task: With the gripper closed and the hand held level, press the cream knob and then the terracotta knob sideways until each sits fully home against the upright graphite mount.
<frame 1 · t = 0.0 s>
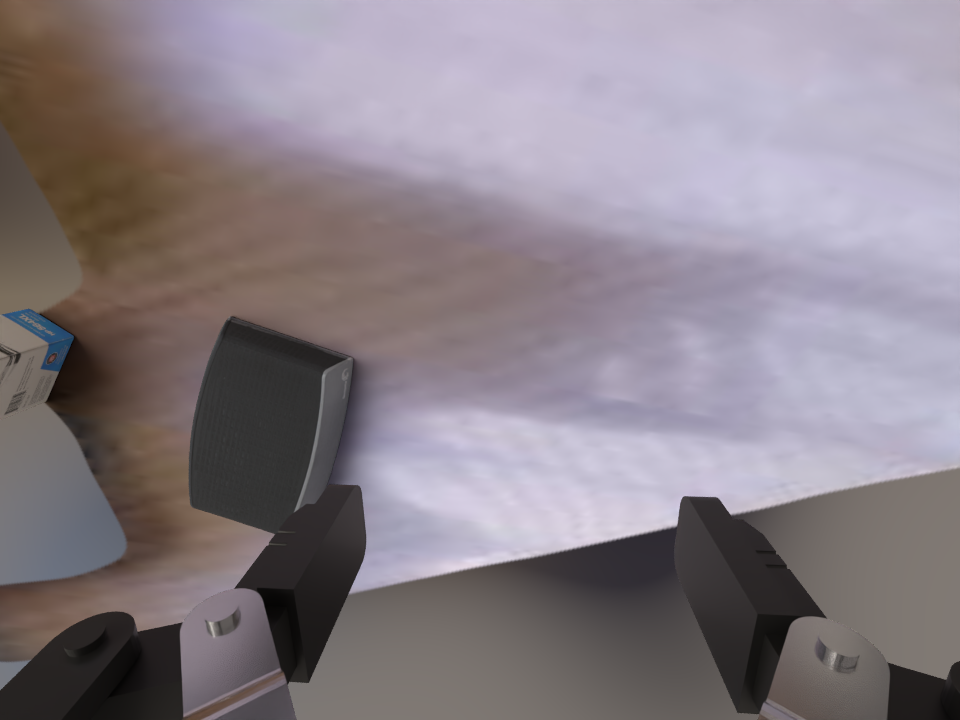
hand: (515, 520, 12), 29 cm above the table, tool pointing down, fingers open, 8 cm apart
ink box: (41, 356, 45), on the table
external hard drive: (276, 425, 46), on the table
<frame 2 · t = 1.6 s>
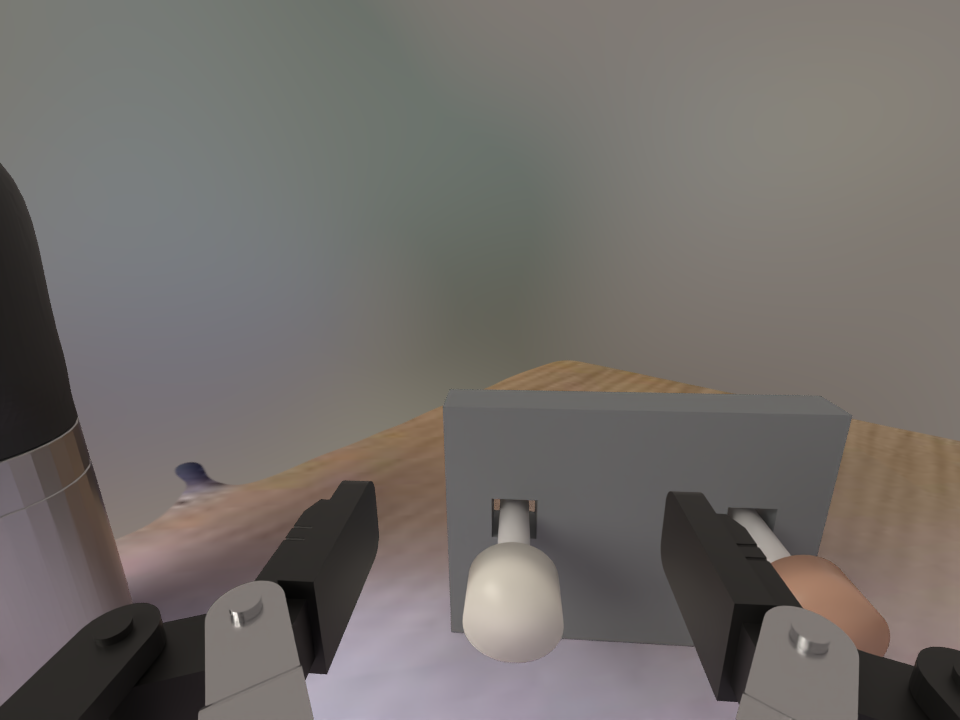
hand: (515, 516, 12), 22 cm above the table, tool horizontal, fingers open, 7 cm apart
cream knob: (513, 552, 28), point 10 cm above the table, slide at 5.0 cm
knob mount: (613, 624, 35), on the table
terracotta knob: (775, 564, 27), point 10 cm above the table, slide at 5.0 cm
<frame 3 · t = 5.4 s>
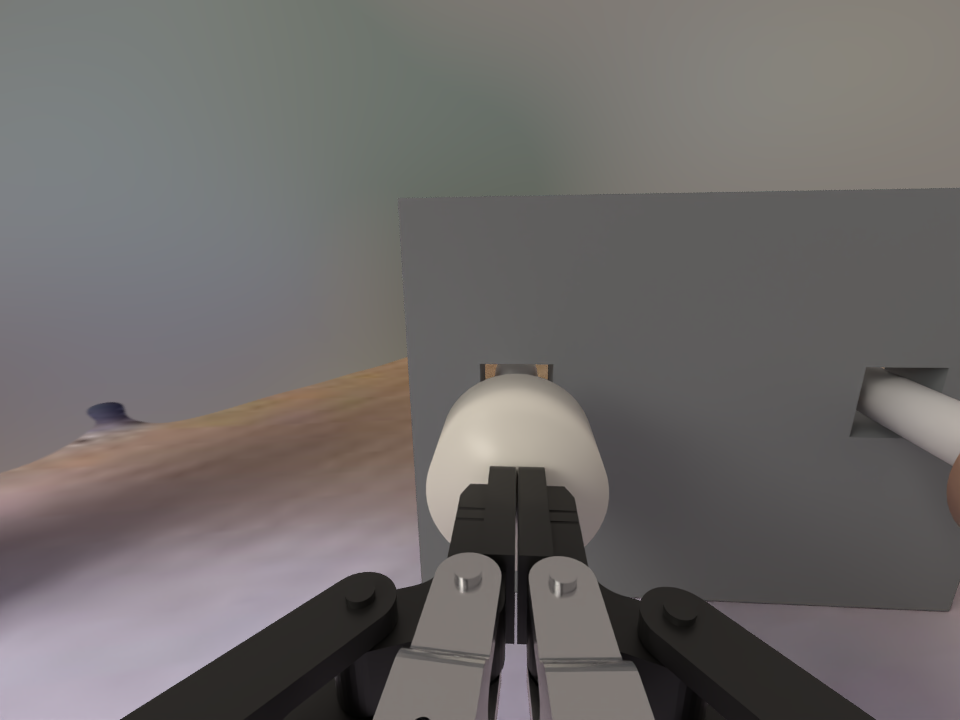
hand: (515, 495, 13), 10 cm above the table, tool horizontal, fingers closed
cream knob: (516, 417, 18), point 10 cm above the table, slide at 3.7 cm, touching gripper
knob mount: (665, 575, 24), on the table
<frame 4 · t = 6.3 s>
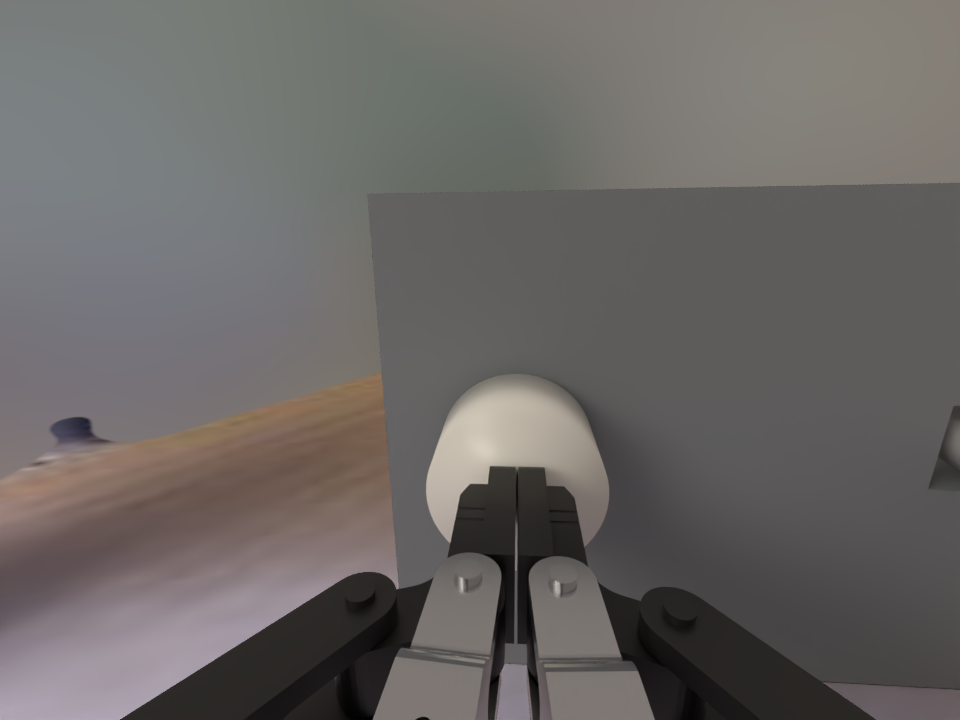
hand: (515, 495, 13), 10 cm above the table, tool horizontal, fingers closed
cream knob: (516, 417, 18), point 10 cm above the table, slide at -0.1 cm, touching gripper
knob mount: (692, 641, 20), on the table
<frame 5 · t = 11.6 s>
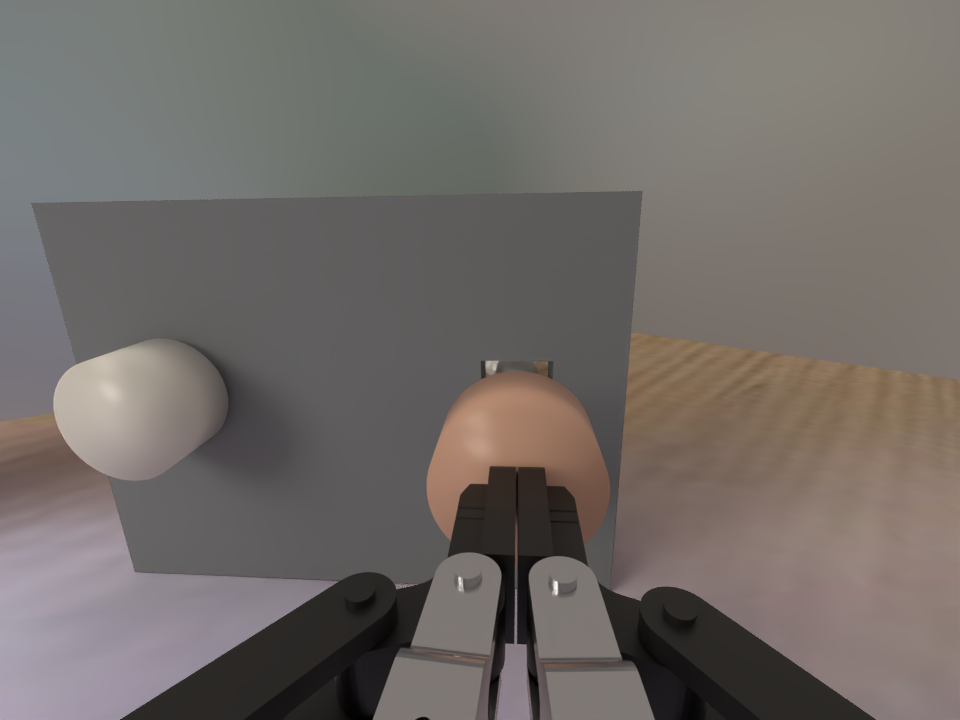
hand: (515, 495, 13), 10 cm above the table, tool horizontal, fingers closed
cream knob: (204, 377, 23), point 10 cm above the table, slide at -0.1 cm
knob mount: (372, 560, 25), on the table
terracotta knob: (516, 415, 18), point 10 cm above the table, slide at 3.9 cm, touching gripper
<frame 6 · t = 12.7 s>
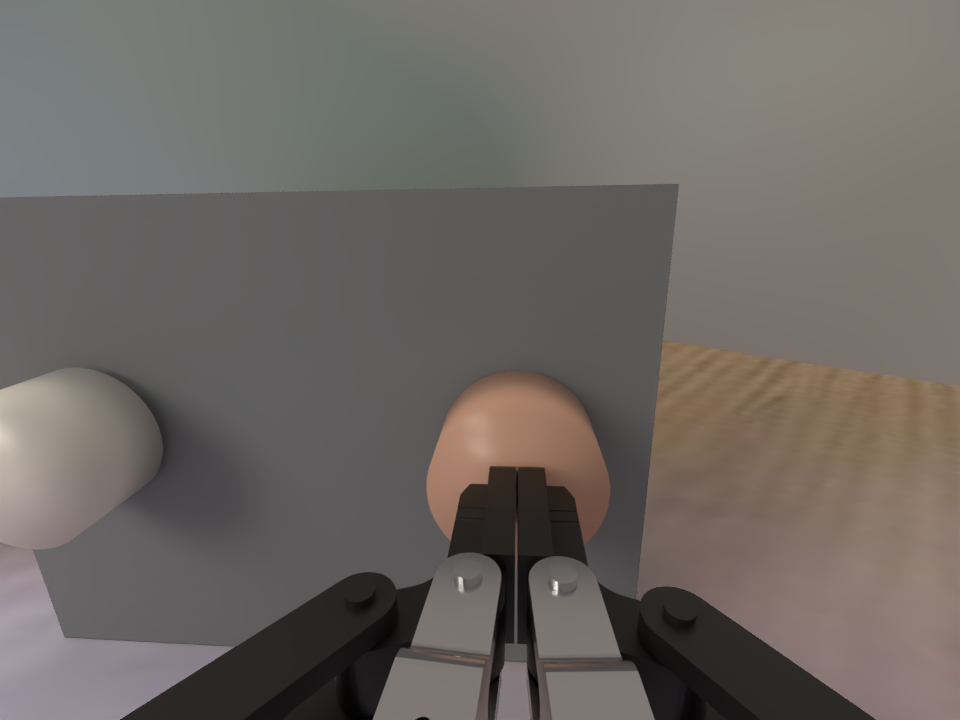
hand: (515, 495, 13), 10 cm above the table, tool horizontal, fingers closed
cream knob: (141, 409, 19), point 10 cm above the table, slide at -0.1 cm
knob mount: (346, 621, 21), on the table
terracotta knob: (516, 414, 18), point 10 cm above the table, slide at -0.1 cm, touching gripper
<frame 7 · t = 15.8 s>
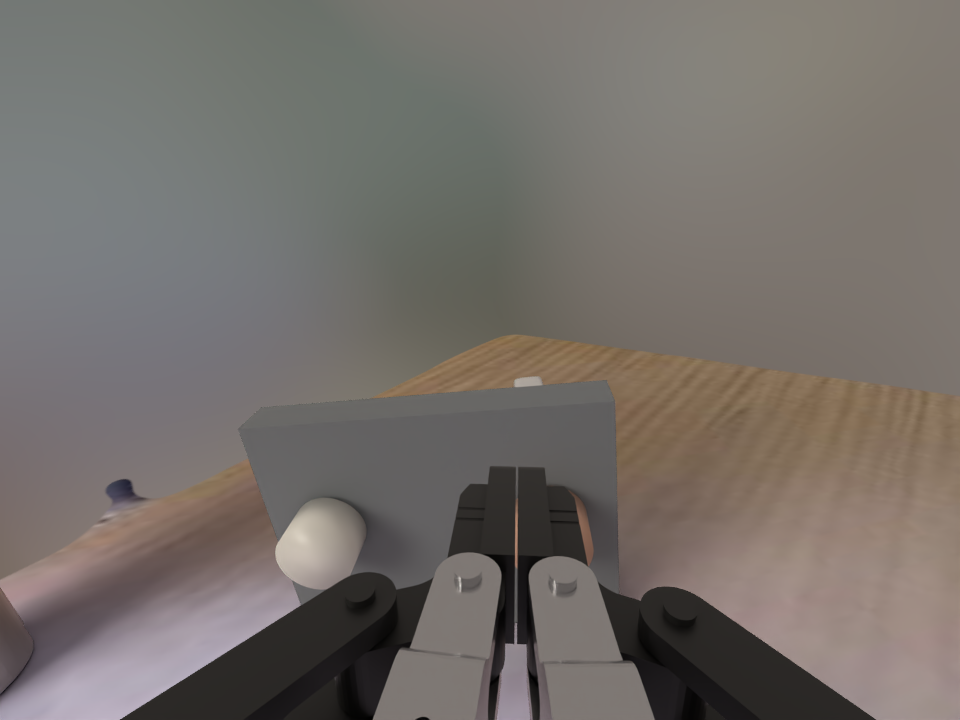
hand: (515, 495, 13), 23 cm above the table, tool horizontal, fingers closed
power adapter: (535, 435, 60), on the table
cream knob: (342, 506, 35), point 10 cm above the table, slide at -0.1 cm
knob mount: (460, 606, 37), on the table
terracotta knob: (546, 495, 33), point 10 cm above the table, slide at -0.1 cm
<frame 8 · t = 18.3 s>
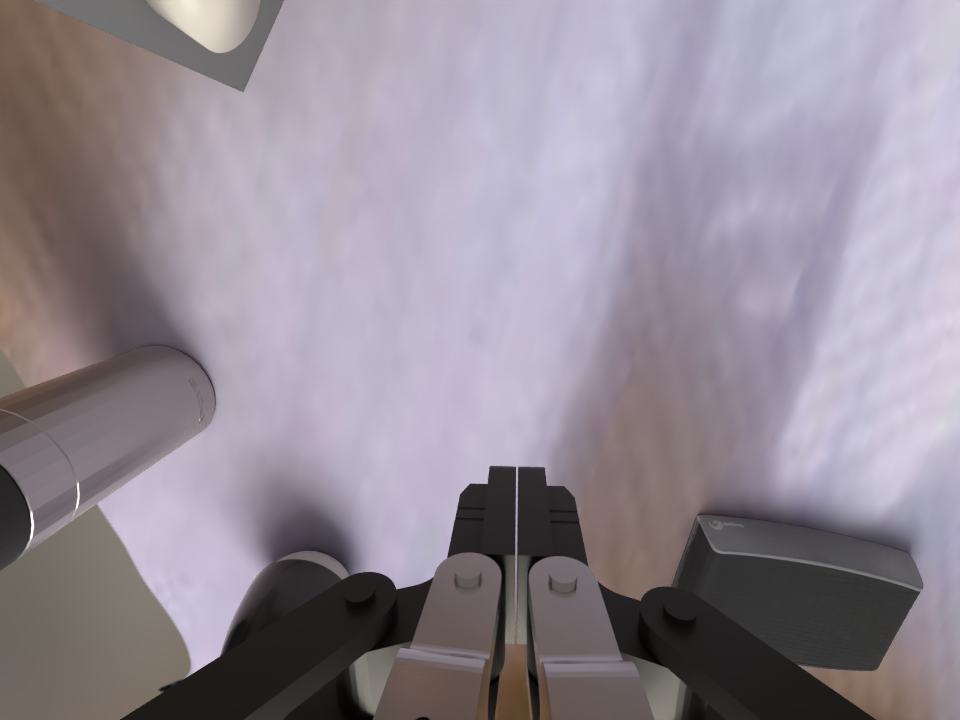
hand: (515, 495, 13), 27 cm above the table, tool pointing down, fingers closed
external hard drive: (776, 578, 45), on the table
dark rounded piece: (320, 574, 49), on the table
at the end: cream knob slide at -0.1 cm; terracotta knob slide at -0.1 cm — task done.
